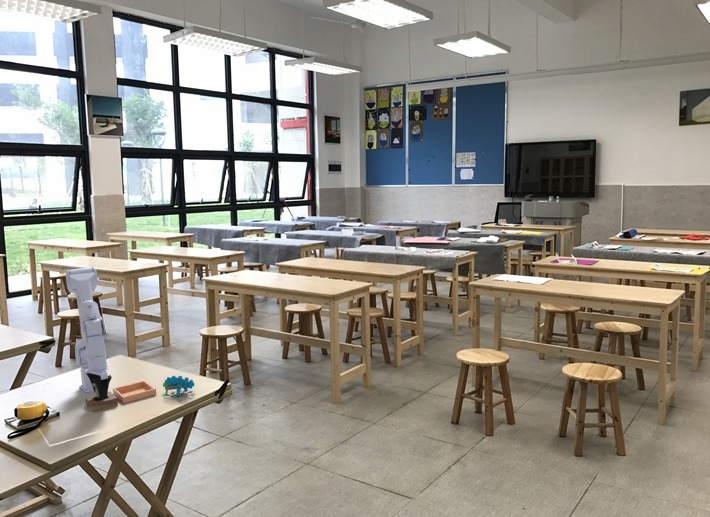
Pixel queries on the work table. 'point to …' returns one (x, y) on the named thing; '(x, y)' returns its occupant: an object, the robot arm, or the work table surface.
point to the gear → (177, 384)
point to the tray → (134, 391)
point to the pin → (97, 393)
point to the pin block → (101, 402)
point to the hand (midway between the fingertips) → (100, 394)
